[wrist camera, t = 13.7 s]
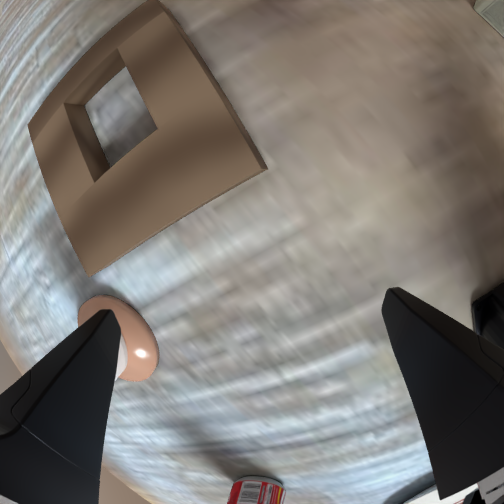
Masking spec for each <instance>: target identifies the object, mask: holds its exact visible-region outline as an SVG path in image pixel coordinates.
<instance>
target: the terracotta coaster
mask: <svg viewBox="0 0 504 504" xmlns="http://www.w3.org/2000/svg"><path fill="white" fill-rule="evenodd" d="M101 309H111V310H113V312H114V314H115V316H116V318H117V320H118V323H119V325H120V327H121V333H122V335H123V338H124V340H125V343H126V347H127V352H128V361H127V366H126V368H125V370H124V371H123V372H122V373H121V374H120V376H119V378H122V379H124V380H128V381H136V382H137V381H142V380H145V379H147V378H148V377H149V376H150V375H151V374H152V373H153V371H154V370H155V369H156V367H157V365H158V362H159V348H158V344H157V341H156V339H155V336H154V334H153V332H152V331H151V329H150V327H149V326H148V324H147V323H146V322H145V320H144V319H143V318H142V317H141V316H140V315H139V314H138V313H137V312H136V311H135V310H134V309H133V308H132V307H131V306H129V305H128V304H126V303H125V302H123V301H122V300H120V299H118V298H115V297H113V296H109V295H97V296H94V297H92V298H91V299H89V300H88V301H86V302H85V303H84V304H83V305H82V306H81V307H80V310H79V313H78V327H79V326H81V325H82V324H83V323H84V322H86V321H87V320H88V319H89V318H90V317H92V316H93V315H94V314H95V313H97V312H98V311H99V310H101Z"/></svg>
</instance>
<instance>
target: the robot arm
mask: <svg viewBox="0 0 504 504" xmlns="http://www.w3.org/2000/svg"><path fill="white" fill-rule="evenodd" d="M478 305H479V306H478ZM477 306H478V308H477ZM472 314H473V324H474V331H472V330H471V329H469V328H467V327H466V326H464V325H463V324H461V323H459V322H458V321H456V320H454V319H453V318H451V317H449V316H448V315H446V314H444V313H443V312H441V311H439V310H438V309H436V308H434V307H433V306H431V305H429V304H428V303H426V302H424V301H422V300H421V299H419V298H417V297H416V296H414V295H412V294H410V293H409V292H407V291H405V290H403V289H402V288H400V287H393V288H389V289H387V291H386V294H385V298H384V301H383V304H382V316H383V319H384V322H385V325H386V329H387V332H388V335H389V339H390V342H391V346H392V349H393V352H394V354H395V357H396V359H397V362H398V364H399V367H400V370H401V372H402V375H403V377H404V380H405V383H406V386H407V388H408V391H409V394H410V397H411V400H412V402H413V405H414V408H415V411H416V414H417V417H418V420H419V423H420V427H421V430H422V433H423V436H424V440H425V443H426V447H427V450H428V454H429V458H430V462H431V466H432V469H433V473H434V478H435V482H436V486H437V491H438V495H439V499H440V500H443V499H445V498H447V497H450V496H452V495H454V494H456V493H458V492H460V491H463V490H465V489H467V488H469V487H470V486H472V485H474V484H476V483H477V485H478V488H476V489H475V490H474V491H472V492H471V493H469V494H467V495H466V496H465V498H464V501H463V503H462V504H504V283H502V284H501V285H499V286H498V287H496V288H495V289H493V290H492V291H490V292H489V293H487V294H486V295H484V296H482V297H481V298H479V299H478V300H476V301H475V302H474V303H473V305H472ZM120 339H121V327H120V325H119V323H118V320H117V318H116V316H115V314H114V312H113V310H111V309H101V310H99V311H98V312H97V313H95V314H94V315H93V316H92V317H90V318H89V319H88V320H87V321H86V322H84V323H83V324H82V325H81V326H79V327H78V328H77V329H76V330H75V331H73V332H72V333H71V334H70V335H69V336H68V337H66V338H65V339H64V340H63V341H62V342H60V343H59V344H58V345H57V346H56V347H55V348H53V349H52V350H51V351H50V352H49V353H48V354H47V355H45V356H44V357H43V358H42V359H41V360H40V361H39V362H38V363H36V364H35V365H34V366H33V367H32V368H31V369H30V370H29V371H27V372H26V373H25V374H24V375H23V376H22V377H21V378H20V379H19V380H17V381H16V382H15V383H14V384H13V385H12V386H10V387H9V388H8V389H7V390H5V391H4V392H3V393H2V394H1V395H0V504H98V500H99V486H100V485H99V484H100V480H99V479H100V472H101V462H102V453H103V445H104V438H105V431H106V425H107V419H108V413H109V407H110V402H111V396H112V391H113V386H114V382H115V377H116V371H117V363H118V354H119V347H120Z"/></svg>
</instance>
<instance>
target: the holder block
mask: <svg viewBox="0 0 504 504" xmlns="http://www.w3.org/2000/svg"><path fill="white" fill-rule="evenodd" d="M125 66H126V67H127V69H128V71H129V73H130V75H131V77H132V79H133V81H134V83H135V85H136V87H137V89H138V91H139V93H140V95H141V97H142V99H143V101H144V103H145V105H146V107H147V109H148V111H149V112H150V114H151V116H152V118H153V120H154V122H155V124H156V126H157V128H158V129H157V130H155V131H154V132H153V133H152V134H150V135H149V136H148V137H146V138H145V139H144V140H143V141H141V142H140V143H139V144H138V145H137V146H135V147H134V148H133V149H132V150H131V151H129V152H128V153H127V154H126V155H125V156H123V157H122V158H121V159H120V160H119V161H118V162H117V163H115V164H114V165H113V166H112V167H111V168H110V166H109V164H108V162H107V159H106V157H105V155H104V153H103V150H102V148H101V146H100V144H99V141H98V139H97V137H96V134H95V132H94V129H93V127H92V124H91V122H90V120H89V117H88V115H87V112H86V109H85V107H84V105H85V104H86V103H87V102H88V101H89V100H90V99H91V98H92V97H93V96H94V95H95V94H96V93H97V92H98V91H99V90H100V89H101V88H102V87H103V86H104V85H105V84H106V83H107V82H108V81H110V80H111V79H112V78H113V77H114V76H115V75H116V74H117V73H118V72H119V71H121V70H122V69H123V68H124V67H125ZM28 129H29V133H30V136H31V140H32V143H33V147H34V150H35V154H36V157H37V160H38V163H39V166H40V169H41V172H42V175H43V178H44V180H45V183H46V186H47V189H48V191H49V194H50V196H51V199H52V201H53V204H54V206H55V209H56V211H57V214H58V216H59V218H60V220H61V223H62V225H63V227H64V229H65V232H66V234H67V236H68V238H69V240H70V242H71V244H72V246H73V248H74V250H75V252H76V254H77V256H78V258H79V260H80V262H81V264H82V266H83V268H84V270H85V272H86V273H87V275H88V277H90V276H92V275H94V274H96V273H97V272H99V271H101V270H103V269H104V268H106V267H108V266H109V265H111V264H112V263H114V262H115V261H117V260H118V259H120V258H121V257H123V256H124V255H126V254H127V253H129V252H130V251H132V250H133V249H135V248H136V247H138V246H139V245H141V244H142V243H144V242H145V241H147V240H148V239H150V238H151V237H153V236H154V235H156V234H158V233H159V232H161V231H162V230H164V229H166V228H167V227H169V226H170V225H172V224H174V223H175V222H177V221H178V220H180V219H182V218H183V217H185V216H187V215H188V214H190V213H192V212H193V211H195V210H197V209H198V208H200V207H202V206H203V205H205V204H207V203H208V202H210V201H212V200H213V199H215V198H217V197H219V196H220V195H222V194H224V193H226V192H227V191H229V190H231V189H233V188H234V187H236V186H238V185H240V184H242V183H243V182H245V181H247V180H249V179H251V178H252V177H254V176H256V175H258V174H260V173H262V172H264V171H265V170H267V169H268V168H267V166H266V164H265V162H264V161H263V159H262V157H261V155H260V153H259V152H258V150H257V148H256V146H255V145H254V143H253V141H252V139H251V138H250V136H249V134H248V132H247V131H246V129H245V127H244V125H243V124H242V122H241V120H240V119H239V117H238V115H237V114H236V112H235V110H234V109H233V107H232V105H231V104H230V102H229V100H228V99H227V97H226V95H225V94H224V92H223V91H222V89H221V87H220V86H219V84H218V83H217V81H216V79H215V78H214V76H213V75H212V73H211V71H210V70H209V68H208V67H207V65H206V64H205V62H204V61H203V59H202V57H201V56H200V54H199V53H198V51H197V50H196V48H195V47H194V45H193V44H192V42H191V41H190V39H189V38H188V36H187V35H186V33H185V32H184V31H183V29H182V28H181V26H180V25H179V23H178V22H177V20H176V19H175V18H174V16H173V15H172V13H171V12H170V11H169V9H167V8H166V7H165V6H164V5H163V4H162V3H161V2H160V1H158V0H147V1H146V2H145V3H143V4H142V5H140V6H139V7H138V8H136V9H135V10H134V11H133V12H131V13H130V14H129V15H128V16H126V17H125V18H124V19H123V20H121V21H120V22H119V23H118V24H117V25H115V26H114V27H113V28H112V29H111V30H110V31H109V32H107V33H106V34H105V35H104V36H103V37H102V38H101V39H100V40H99V41H98V42H97V43H96V44H94V45H93V46H92V47H91V48H90V49H89V50H88V51H87V52H86V53H85V54H84V55H83V56H82V58H81V59H80V60H79V61H78V62H77V63H76V64H75V65H74V66H73V67H72V68H71V69H70V70H69V72H68V73H67V74H66V75H65V76H64V77H63V79H62V80H61V81H60V82H59V83H58V84H57V86H56V87H55V88H54V89H53V91H52V92H51V93H50V94H49V96H48V97H47V98H46V100H45V101H44V102H43V104H42V105H41V106H40V108H39V109H38V110H37V112H36V113H35V115H34V116H33V118H32V119H31V121H30V122H29V123H28Z"/></svg>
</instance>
